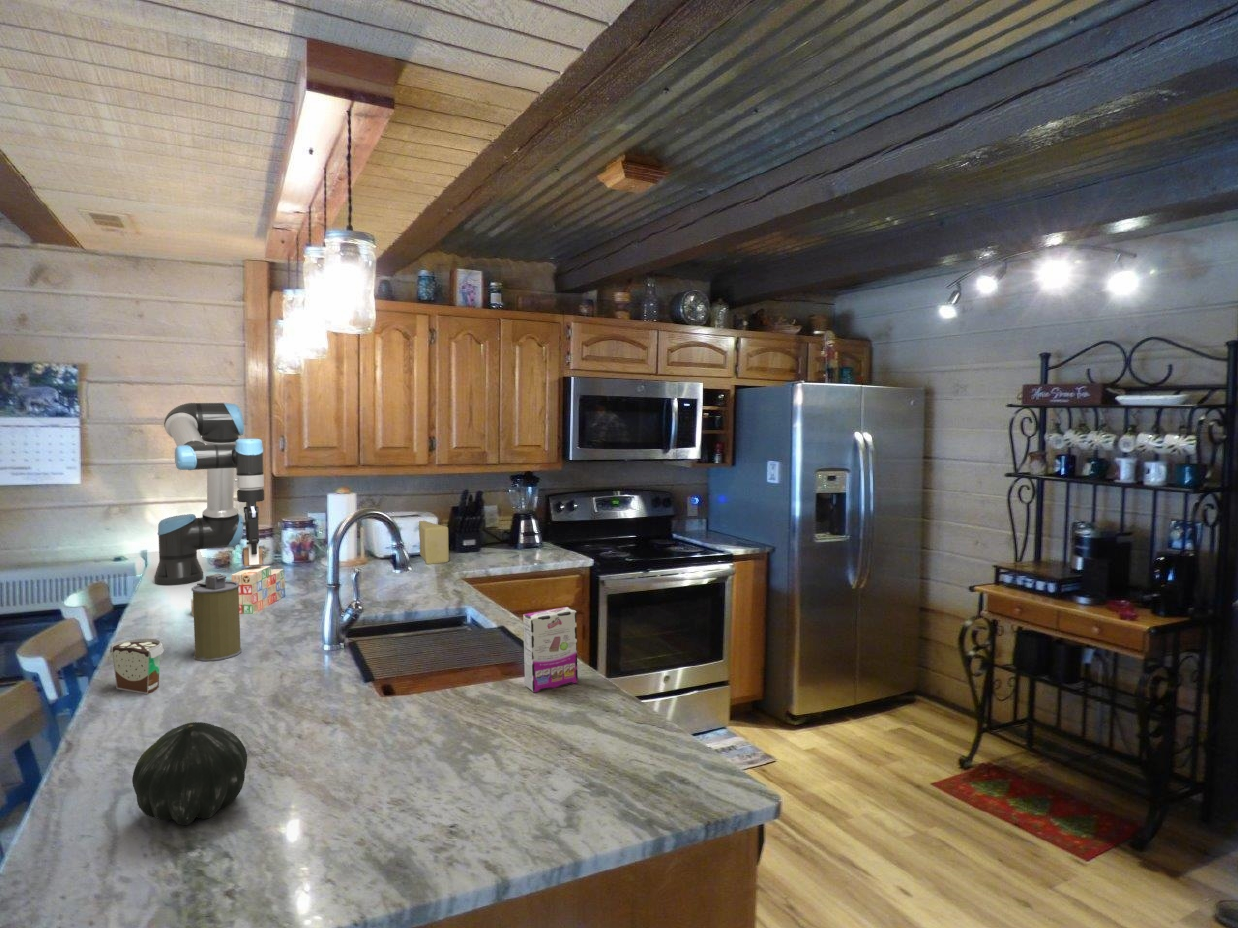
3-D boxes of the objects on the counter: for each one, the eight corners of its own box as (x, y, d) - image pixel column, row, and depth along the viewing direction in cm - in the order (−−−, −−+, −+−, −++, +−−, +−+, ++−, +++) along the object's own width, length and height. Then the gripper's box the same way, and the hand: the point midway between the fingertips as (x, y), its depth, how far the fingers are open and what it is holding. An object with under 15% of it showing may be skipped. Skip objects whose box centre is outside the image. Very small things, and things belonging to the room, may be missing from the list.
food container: (178, 684, 162) (176, 640, 161) (153, 694, 156) (150, 649, 155) (138, 678, 166) (136, 635, 165) (111, 687, 160) (109, 643, 159)
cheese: (410, 555, 309) (409, 520, 308) (432, 553, 315) (432, 519, 314) (425, 565, 291) (425, 527, 290) (449, 562, 296) (448, 525, 295)
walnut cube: (243, 563, 228) (242, 547, 227) (260, 561, 230) (260, 546, 230) (244, 566, 223) (244, 550, 223) (262, 564, 226) (262, 548, 226)
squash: (191, 743, 121) (146, 701, 110) (277, 750, 119) (240, 708, 109) (144, 834, 111) (89, 798, 100) (237, 844, 109) (192, 807, 99)
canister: (251, 651, 185) (248, 573, 183) (213, 663, 175) (209, 581, 174) (222, 645, 189) (219, 569, 188) (183, 657, 180) (180, 577, 178)
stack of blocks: (266, 596, 240) (265, 559, 239) (285, 596, 240) (284, 559, 239) (232, 614, 219) (230, 574, 218) (253, 614, 219) (251, 574, 218)
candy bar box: (567, 676, 167) (567, 605, 166) (578, 683, 162) (578, 610, 161) (522, 686, 161) (522, 612, 160) (532, 693, 157) (532, 618, 155)
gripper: (234, 486, 231) (236, 559, 233) (239, 491, 216) (242, 569, 217) (260, 485, 235) (262, 556, 237) (267, 490, 220) (270, 566, 221)
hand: (253, 562), depth 227 cm, fingers closed on walnut cube, 5 cm apart
